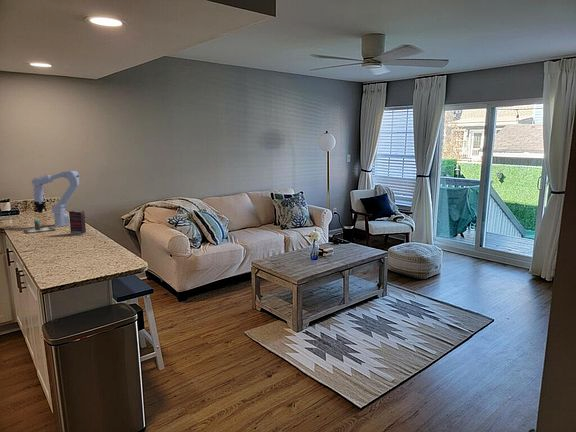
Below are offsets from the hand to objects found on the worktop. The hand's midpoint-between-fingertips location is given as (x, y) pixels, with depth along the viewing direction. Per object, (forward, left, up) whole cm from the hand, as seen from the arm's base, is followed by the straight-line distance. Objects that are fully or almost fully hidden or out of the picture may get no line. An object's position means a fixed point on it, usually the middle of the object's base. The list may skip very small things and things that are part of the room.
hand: (39, 211), depth 300 cm
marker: (+4, +20, -10) cm, 22 cm away
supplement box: (-17, +48, -11) cm, 52 cm away
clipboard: (+3, +21, -10) cm, 23 cm away
